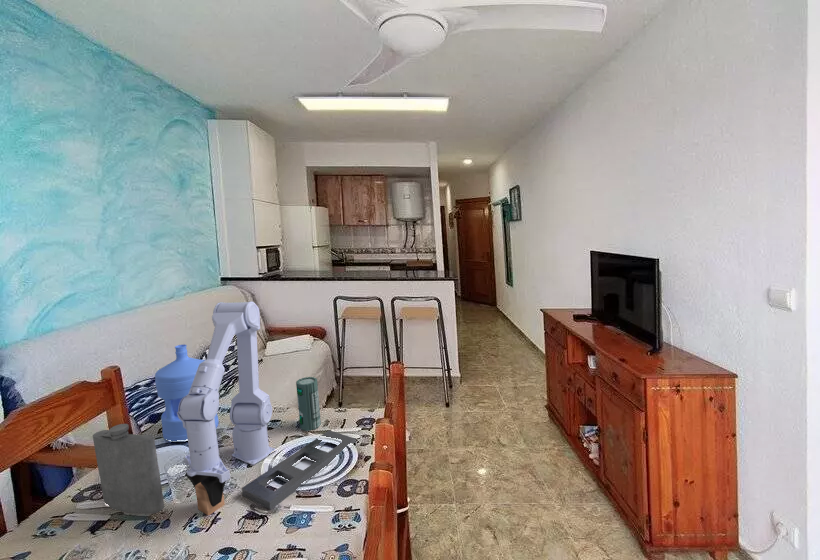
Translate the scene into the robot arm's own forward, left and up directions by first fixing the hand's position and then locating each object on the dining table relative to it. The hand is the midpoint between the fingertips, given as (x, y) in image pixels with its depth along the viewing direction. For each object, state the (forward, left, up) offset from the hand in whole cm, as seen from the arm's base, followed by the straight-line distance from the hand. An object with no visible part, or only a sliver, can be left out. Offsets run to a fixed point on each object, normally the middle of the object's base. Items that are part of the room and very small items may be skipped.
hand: (210, 500), depth 93 cm
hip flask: (-17, -9, -2) cm, 19 cm away
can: (-7, +38, -2) cm, 39 cm away
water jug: (-39, +18, -2) cm, 43 cm away
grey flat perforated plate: (+8, +21, -2) cm, 23 cm away
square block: (0, 0, -2) cm, 2 cm away
